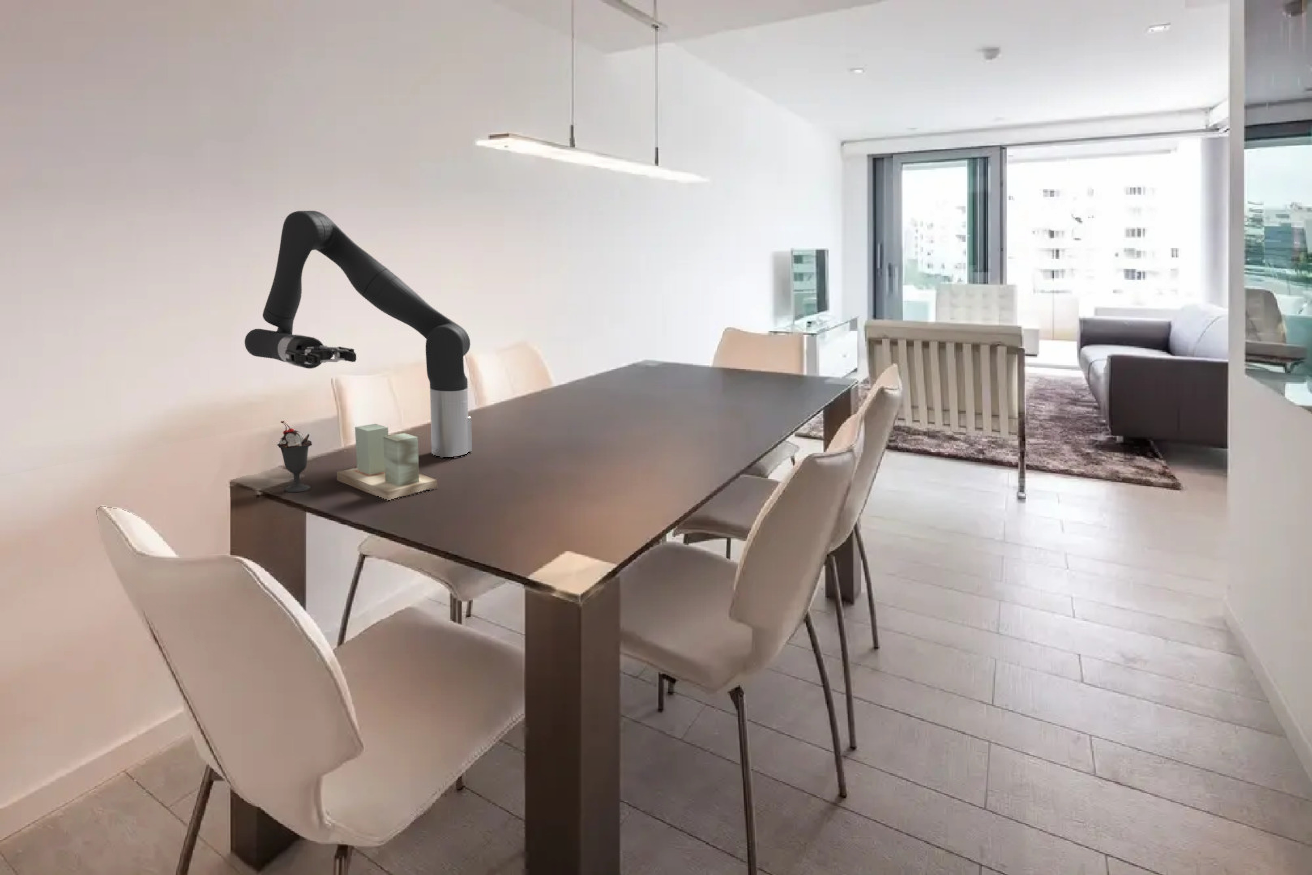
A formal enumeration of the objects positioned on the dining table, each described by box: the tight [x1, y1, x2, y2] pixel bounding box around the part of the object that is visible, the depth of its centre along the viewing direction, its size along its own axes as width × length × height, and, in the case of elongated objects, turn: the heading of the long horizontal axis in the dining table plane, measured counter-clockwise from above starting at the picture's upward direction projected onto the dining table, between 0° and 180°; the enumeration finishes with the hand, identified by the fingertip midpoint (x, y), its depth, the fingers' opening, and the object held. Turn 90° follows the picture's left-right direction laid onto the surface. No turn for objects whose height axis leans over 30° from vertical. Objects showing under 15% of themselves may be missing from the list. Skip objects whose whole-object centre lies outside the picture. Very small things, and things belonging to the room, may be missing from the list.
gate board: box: [336, 432, 438, 501], centre depth 161 cm, size 12×20×12 cm, turn 52°
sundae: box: [276, 420, 313, 493], centre depth 155 cm, size 7×7×15 cm
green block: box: [354, 423, 389, 475], centre depth 164 cm, size 5×5×10 cm
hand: (336, 358), depth 167 cm, fingers open, 8 cm apart
